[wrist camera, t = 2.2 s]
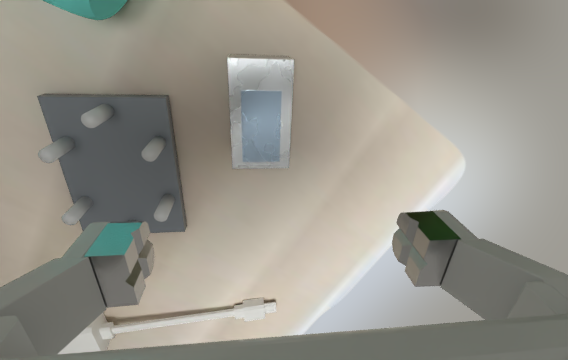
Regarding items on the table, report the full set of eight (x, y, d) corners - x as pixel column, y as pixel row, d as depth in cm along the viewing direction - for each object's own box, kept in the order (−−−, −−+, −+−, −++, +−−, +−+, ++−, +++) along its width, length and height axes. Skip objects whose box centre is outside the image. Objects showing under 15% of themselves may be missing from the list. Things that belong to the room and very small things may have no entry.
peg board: (186, 225, 32) (179, 250, 29) (89, 229, 31) (68, 255, 27) (168, 95, 26) (155, 105, 22) (44, 94, 25) (10, 104, 21)
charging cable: (274, 308, 42) (278, 330, 39) (22, 345, 37) (4, 372, 34) (273, 282, 39) (276, 303, 36) (4, 319, 35) (-17, 345, 32)
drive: (284, 151, 30) (289, 168, 26) (234, 152, 29) (232, 169, 26) (287, 55, 26) (294, 60, 22) (230, 53, 25) (227, 58, 22)
